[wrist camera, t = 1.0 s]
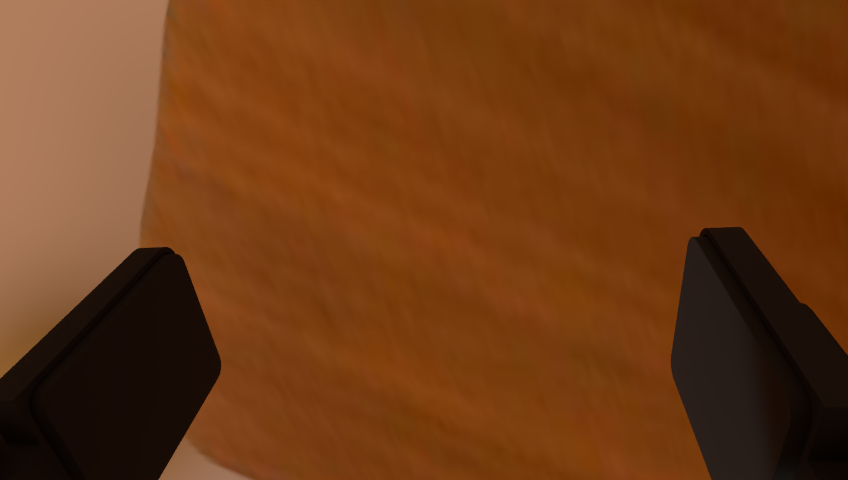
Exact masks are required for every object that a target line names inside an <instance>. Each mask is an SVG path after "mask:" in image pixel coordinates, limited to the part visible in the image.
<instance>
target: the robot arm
mask: <svg viewBox="0 0 848 480" xmlns="http://www.w3.org/2000/svg"><path fill="white" fill-rule="evenodd" d="M671 369H672V374H673V378H674V381H675V383H676V386H677V389H678V391H679V394H680V397H681V399H682V402H683V405H684V407H685V410H686V413H687V415H688V418H689V421H690V423H691V426H692V429H693V431H694V434H695V437H696V439H697V442H698V445H699V447H700V450H701V453H702V455H703V458H704V461H705V463H706V466H707V469H708V471H709V474H710V477H711V479H712V480H848V355H847V354H846V353H845V352H844V350H843V349H842V348H841V346H840V345H839V344H838V343H837V341H836V340H835V339H834V338H833V336H832V335H831V334H830V332H829V331H828V330H827V329H826V327H825V326H824V325H823V323H822V322H821V321H820V320H819V318H818V317H817V316H816V314H815V313H814V312H813V311H812V310H811V309H810V308H809V307H808V306H807V305H806V304H803V303H800V302H799V301H798V300H797V298H796V297H795V296H794V294H793V293H792V292H791V290H790V289H789V288H788V286H787V285H786V284H785V283H784V281H783V280H782V279H781V277H780V276H779V275H778V273H777V272H776V271H775V270H774V268H773V267H772V266H771V264H770V263H769V262H768V260H767V259H766V258H765V256H764V255H763V254H762V253H761V251H760V250H759V249H758V247H757V246H756V245H755V243H754V242H753V241H752V239H751V238H750V237H749V236H748V234H747V233H746V232H745V230H744V229H742V228H741V227H726V228H704V229H703V230H702V231H701V233H700V236H699V237H691V238H690V240H689V242H688V247H687V254H686V261H685V267H684V274H683V281H682V287H681V294H680V301H679V307H678V314H677V321H676V327H675V334H674V341H673V347H672V354H671ZM220 371H221V360H220V356H219V354H218V351H217V348H216V346H215V343H214V340H213V338H212V335H211V332H210V330H209V327H208V324H207V321H206V319H205V316H204V313H203V311H202V308H201V305H200V303H199V300H198V297H197V295H196V292H195V289H194V287H193V284H192V281H191V278H190V276H189V273H188V270H187V268H186V265H185V262H184V260H183V258H182V257H181V256H180V255H178V254H175V252H174V251H173V250H172V249H170V248H168V247H158V248H138V249H136V250H135V251H133V252H132V253H131V254H130V255H129V256H128V257H127V258H126V259H125V260H124V261H123V262H122V263H121V264H120V265H119V266H118V267H117V268H116V269H115V270H114V271H113V272H111V273H110V274H109V275H108V276H107V277H106V278H105V279H104V280H103V281H102V282H101V283H100V284H99V285H98V286H97V287H96V288H95V289H94V290H93V291H92V292H91V293H90V294H89V295H87V296H86V297H85V298H84V299H83V300H82V301H81V302H80V303H79V304H78V305H77V306H76V307H75V308H74V309H73V310H72V311H71V312H70V313H69V314H68V315H66V316H65V317H64V318H63V319H62V320H61V321H60V322H59V323H58V324H57V325H56V326H55V327H54V328H53V329H52V330H51V331H50V332H49V333H48V334H47V335H46V336H45V337H43V339H42V340H40V341H39V342H38V343H37V344H36V345H35V346H34V347H33V348H32V349H31V350H30V351H29V352H28V353H27V354H26V355H25V356H24V357H23V358H22V359H20V360H19V361H18V362H17V363H16V365H14V366H13V367H12V368H11V369H10V370H9V371H8V372H7V373H6V374H5V375H4V376H3V377H2V378H1V379H0V480H158V479H159V478H160V476H161V474H162V472H163V471H164V469H165V467H166V466H167V464H168V462H169V460H170V459H171V457H172V456H173V454H174V452H175V450H176V449H177V447H178V445H179V443H180V442H181V440H182V438H183V437H184V435H185V433H186V432H187V430H188V428H189V427H190V425H191V423H192V421H193V420H194V418H195V416H196V415H197V413H198V411H199V410H200V408H201V406H202V404H203V403H204V401H205V399H206V398H207V396H208V394H209V393H210V391H211V389H212V387H213V386H214V384H215V382H216V381H217V379H218V377H219V375H220Z"/></svg>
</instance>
